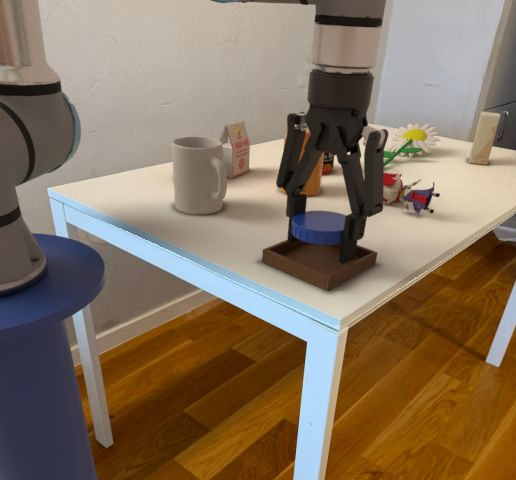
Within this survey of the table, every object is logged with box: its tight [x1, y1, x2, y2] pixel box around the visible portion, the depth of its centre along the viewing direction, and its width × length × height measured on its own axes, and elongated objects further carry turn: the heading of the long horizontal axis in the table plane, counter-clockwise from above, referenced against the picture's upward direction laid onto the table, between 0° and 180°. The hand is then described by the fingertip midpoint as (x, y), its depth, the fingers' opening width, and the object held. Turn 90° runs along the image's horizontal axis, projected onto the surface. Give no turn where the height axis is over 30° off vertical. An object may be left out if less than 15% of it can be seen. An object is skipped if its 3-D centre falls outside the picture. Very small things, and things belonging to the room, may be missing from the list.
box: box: [468, 111, 502, 166], centre depth 122 cm, size 5×4×11 cm
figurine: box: [383, 172, 441, 216], centre depth 93 cm, size 6×8×15 cm
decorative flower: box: [384, 122, 441, 168], centre depth 124 cm, size 13×5×30 cm
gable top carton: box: [219, 120, 251, 179], centre depth 106 cm, size 4×7×10 cm, turn 149°
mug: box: [171, 136, 228, 216], centre depth 86 cm, size 12×8×11 cm
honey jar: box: [280, 128, 324, 197], centre depth 97 cm, size 8×8×12 cm
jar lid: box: [291, 210, 348, 245], centre depth 69 cm, size 9×9×2 cm
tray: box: [261, 239, 379, 292], centre depth 72 cm, size 12×12×2 cm
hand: (320, 249), depth 71 cm, fingers closed on jar lid, 8 cm apart
